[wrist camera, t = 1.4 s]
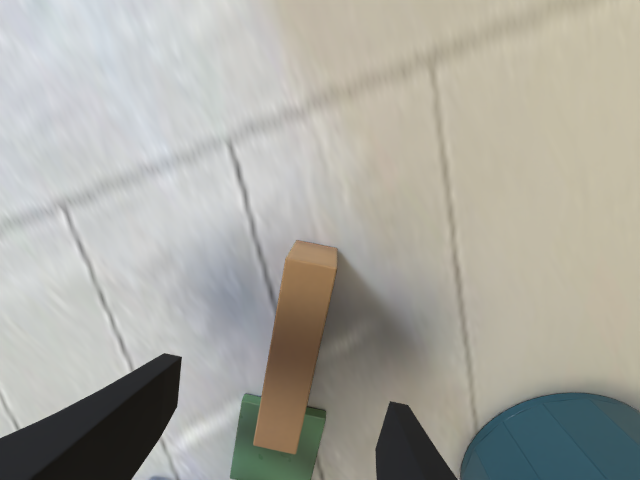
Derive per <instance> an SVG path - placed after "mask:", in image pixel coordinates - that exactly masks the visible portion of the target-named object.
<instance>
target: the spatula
mask: <svg viewBox="0 0 640 480" xmlns="http://www.w3.org/2000/svg"><path fill="white" fill-rule="evenodd" d="M336 272H337V248H333V247H328V246H323V245H318V244H313V243H309V242H304V241H299V240H296V242H295V244H294V245H293V247H292V249H291V250H290V252H289V254H288V256H287V257H286V259H285V265H284V271H283V276H282V282H281V288H280V293H279V299H278V305H277V311H276V316H275V322H274V328H273V333H272V339H271V345H270V351H269V356H268V362H267V368H266V373H265V379H264V385H263V391H262V396H261V397H258V396H253V395H248V394H245V395H244V397H243V399H242V403H241V409H240V416H239V422H238V428H237V435H236V441H235V448H234V454H233V460H232V467H231V473H230V479H235V480H311V477H312V473H313V469H314V465H315V461H316V457H317V452H318V448H319V444H320V440H321V436H322V432H323V428H324V424H325V420H326V411H323V410H318V409H314V408H309V407H307V403H308V398H309V394H310V389H311V385H312V380H313V376H314V371H315V367H316V362H317V357H318V353H319V348H320V344H321V339H322V335H323V330H324V326H325V321H326V317H327V312H328V308H329V303H330V299H331V294H332V290H333V285H334V281H335V276H336Z"/></svg>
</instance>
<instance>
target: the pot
mask: <svg viewBox="0 0 640 480" xmlns="http://www.w3.org/2000/svg"><path fill="white" fill-rule="evenodd" d="M461 480H640V412H639V411H637V410H636V409H634V408H632V407H631V406H629V405H627V404H625V403H622V402H620V401H617V400H615V399H612V398H608V397H604V396H600V395H594V394H587V393H562V394H554V395H548V396H542V397H539V398H535V399H532V400H528V401H526V402H523V403H521V404H518V405H516V406H514V407H512V408H510V409H508V410H506V411H504V412H503V413H501V414H500V415H498V416H497V417H495V418H494V419H493V420H492V421H490V422H489V423H488V424H487V425H486V426H485V427H484V428H483V429H482V430H481V431H480V432H479V433H478V434H477V435H476V437H475V438H474V440H473V441H472V442H471V444H470V445H469V448H468V450H467V452H466V454H465V456H464V459H463V463H462V468H461Z"/></svg>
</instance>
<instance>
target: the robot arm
mask: <svg viewBox="0 0 640 480" xmlns="http://www.w3.org/2000/svg"><path fill="white" fill-rule="evenodd" d="M181 359H182V357H180V356H175V355H170V354H166V353H164V354H162V355H160V356H159V357H157V358H155V359H153V360H152V361H150V362H148V363H146V364H145V365H143V366H141V367H140V368H138V369H136V370H134V371H133V372H131V373H129V374H128V375H126V376H124V377H122V378H121V379H119V380H117V381H115V382H114V383H112V384H110V385H108V386H106V387H105V388H103V389H101V390H99V391H97V392H96V393H94V394H92V395H90V396H88V397H86V398H84V399H82V400H80V401H78V402H76V403H74V404H72V405H71V406H69V407H67V408H65V409H63V410H61V411H59V412H57V413H55V414H53V415H51V416H49V417H47V418H44V419H42V420H40V421H38V422H36V423H34V424H32V425H29V426H27V427H25V428H23V429H20V430H18V431H16V432H14V433H11V434H9V435H7V436H4V437H2V438H0V480H131V479H132V478H133V476H134V475H135V473H136V472H137V471H138V469H139V468H140V466H141V465H142V463H143V462H144V460H145V459H146V458H147V456H148V455H149V453H150V452H151V450H152V449H153V447H154V446H155V444H156V443H157V441H158V440H159V438H160V437H161V435H162V433H163V431H164V430H165V428H166V426H167V424H168V423H169V421H170V419H171V417H172V415H173V413H174V411H175V409H176V408H177V403H178V392H179V381H180V370H181ZM376 473H377V480H458V479H457V478H456V477H455V475H454V474H453V472H452V471H451V470H450V468H449V467H448V465H447V464H446V462H445V461H444V459H443V458H442V457H441V455H440V454H439V452H438V451H437V449H436V448H435V446H434V445H433V443H432V442H431V440H430V438H429V437H428V435H427V434H426V432H425V431H424V429H423V428H422V426H421V425H420V423H419V421H418V420H417V418H416V417H415V415H414V414H413V412H412V411H411V409H410V408H409V406H408V405H405V404H400V403H396V402H391V401H390V403H389V406H388V410H387V413H386V416H385V420H384V423H383V426H382V429H381V433H380V436H379V439H378V443H377V446H376Z"/></svg>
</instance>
